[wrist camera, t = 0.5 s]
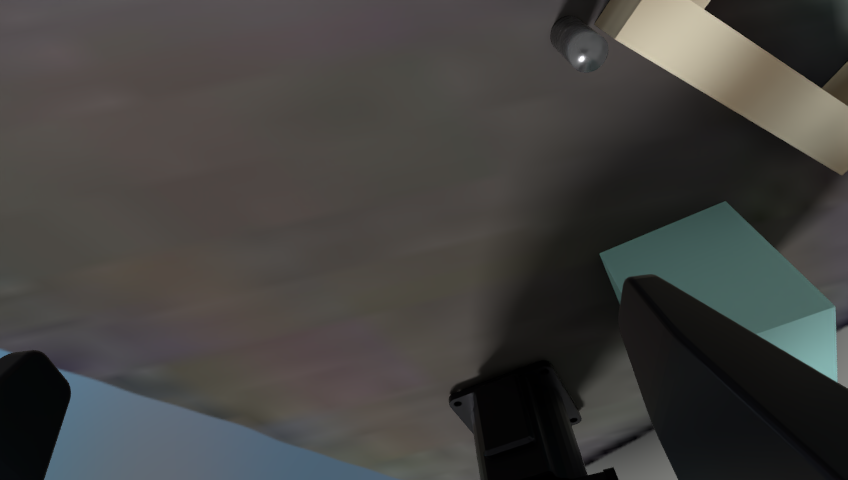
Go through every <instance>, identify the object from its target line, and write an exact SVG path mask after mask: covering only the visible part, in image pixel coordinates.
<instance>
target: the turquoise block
mask: <svg viewBox="0 0 848 480" xmlns="http://www.w3.org/2000/svg"><path fill="white" fill-rule="evenodd" d="M599 254H600V257H601V259H602V262H603V264H604V267H605V269H606V272H607V274H608V277H609V279H610V281H611V284H612V286H613V289H614V291H615V294H616V296H617V299H618V301H619V304H620V301H621V295H622V288H623V283H624V281H625V279H626V278H628V277H630V276H638V275H646V274H654V275H657V276H659V277H660V278H662V279H664V280H666V281H667V282H669V283H671V284H672V285H674V286H676V287H677V288H679V289H681V290H682V291H684V292H686V293H687V294H689V295H691V296H692V297H694V298H696V299H698V300H699V301H701V302H703V303H704V304H706V305H708V306H709V307H711V308H713V309H714V310H716V311H718V312H719V313H721V314H723V315H725V316H726V317H728V318H730V319H731V320H733V321H735V322H736V323H738V324H740V325H741V326H743V327H745V328H746V329H748V330H750V331H751V332H753V333H755V334H757V335H758V336H760V337H762V338H763V339H765V340H767V341H768V342H770V343H772V344H773V345H775V346H777V347H778V348H780V349H782V350H784V351H785V352H787V353H789V354H790V355H792V356H794V357H795V358H797V359H799V360H800V361H802V362H804V363H805V364H807V365H809V366H810V367H812V368H814V369H816V370H817V371H819V372H821V373H822V374H824V375H826V376H827V377H829V378H831V379H832V380H834V381H836V382H837V351H836V350H837V349H836V312H835V306H834V305H833V304H832V303H831V302H830V301H829V300H828V299H827V298H826V297H825V296H824V295H823V294H822V293H821V292H820V291H819V290H818V289H817V288H816V287H815V286H813V285H812V284H811V283H810V282H809V281H808V280H807V279H806V278H805V277H804V276H803V275H802V274H801V273H800V272H799V271H798V270H797V269H796V268H795V267H794V266H793V265H792V264H791V263H790V262H788V261H787V260H786V259H785V258H784V257H783V256H782V255H781V254H780V253H779V252H778V251H777V250H776V249H775V248H774V247H773V246H772V245H771V244H770V243H769V242H768V241H767V240H766V239H765V238H764V237H762V236H761V235H760V234H759V233H758V232H757V231H756V230H755V229H754V228H753V227H752V226H751V225H750V224H749V223H748V222H747V221H746V220H745V219H744V218H743V217H742V216H741V215H740V214H739V213H738V212H736V211H735V210H734V209H733V208H732V207H731V206H730V205H729V204H728V203H727V202H726V201H724V202H722V203H719V204H717V205H714V206H712V207H710V208H707V209H705V210H702V211H700V212H698V213H695V214H693V215H690V216H688V217H686V218H683V219H681V220H678V221H676V222H674V223H671V224H669V225H666V226H664V227H662V228H659V229H657V230H654V231H652V232H649V233H647V234H645V235H642V236H640V237H637V238H635V239H633V240H630V241H628V242H625V243H623V244H621V245H618V246H616V247H613V248H611V249H609V250H606V251H604V252H601V253H599Z"/></svg>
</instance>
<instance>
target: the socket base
mask: <svg viewBox="0 0 848 480" xmlns="http://www.w3.org/2000/svg"><path fill="white" fill-rule="evenodd" d="M710 1H711V0H610V1H609V3H608V4H607V6H606V7H605V9H604V10H603V12H602V13H601V15H600V16H599V18H598V20H597V21H596V23H595V24H594V25H596V26H597V27H598V28H600V29H601V30H603V31H604V32H605V33H607V34H608V35H610V36H611V37H612V38H614V39H615V40H617V41H619V42H620V43H622V44H624V45H625V46H627V47H629V48H630V49H632V50H634V51H635V52H637V53H639V54H640V55H642V56H644V57H645V58H647V59H649V60H650V61H652V62H654V63H655V64H657V65H659V66H660V67H662V68H664V69H665V70H667V71H669V72H670V73H672V74H674V75H675V76H677V77H678V78H680V79H682V80H683V81H685V82H687V83H688V84H690V85H692V86H693V87H695V88H697V89H698V90H700V91H702V92H703V93H705V94H707V95H708V96H710V97H712V98H713V99H715V100H717V101H718V102H720V103H722V104H723V105H725V106H727V107H728V108H730V109H732V110H733V111H735V112H737V113H738V114H740V115H742V116H743V117H745V118H747V119H748V120H750V121H752V122H753V123H755V124H757V125H758V126H760V127H762V128H763V129H765V130H767V131H768V132H770V133H772V134H773V135H775V136H777V137H778V138H780V139H782V140H783V141H785V142H787V143H788V144H790V145H792V146H793V147H795V148H797V149H798V150H800V151H802V152H803V153H805V154H807V155H808V156H810V157H812V158H813V159H815V160H817V161H818V162H820V163H822V164H823V165H825V166H827V167H828V168H830V169H832V170H833V171H835V172H837V173H838V174H840V175H843V174H844V173H845V172H846V171H847V170H848V62H847V63H846V64H845V65H844V66H843V67H842V68H841V69H840V70H839V71H838V72H837V73H836V74H835V75H834V76H833V77H832V78H831V79H830V80H829V81H828V82H827V83H826V84H825V85H824V86H823V87H822V88H820V87H818V86H817V85H816V84H814V83H813V82H811V81H810V80H808V79H807V78H805V77H804V76H802V75H801V74H799V73H798V72H796V71H795V70H793V69H792V68H790V67H789V66H787V65H786V64H784V63H783V62H781V61H780V60H778V59H777V58H775V57H774V56H772V55H771V54H770V53H768V52H767V51H765V50H764V49H762V48H761V47H759V46H758V45H756V44H755V43H753V42H752V41H750V40H749V39H747V38H746V37H744V36H743V35H741V34H740V33H738V32H737V31H735V30H734V29H732V28H731V27H729V26H728V25H726V24H725V23H723V22H722V21H721V20H719V19H718V18H716V17H715V16H713V15H712V14H710V13H709V12H707V11H706V10H704V8H705V7H706V6H707V5H708V3H709V2H710ZM550 39H551V43H552V45H553V46H554V47H555V48H556V49H557V50H558V51H559V52H560V53H561V54H562V55H563V56H564V58H565V59H566V60H567V61H568V62H569V63H570V64H571V65H572V66H573V67H574V68H575V69H576V70H578V71H580V72H584V73H587V72H592V71H594V70H596V69H598V68H599V67H600V66H601V65H602V64H603V63H604V61H605V60H606V58H607V55H608V44H607V42H606V40H605V39H604V38H603V37H602V36H601V35H599V34H598V33H597V32H595V31H594V30H593V29H591V28H590V27H589V26H587V25H586V24H585V23H583V22H582V21H581V20H579V19H578V18H576V17H574V16H566V17H563V18H561V19H560V20H558V21H557V22H556V23H555V25H554V26H553V28H552V30H551V35H550Z"/></svg>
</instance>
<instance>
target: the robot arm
mask: <svg viewBox="0 0 848 480" xmlns="http://www.w3.org/2000/svg"><path fill="white" fill-rule="evenodd" d="M618 323H619V329H620V332H621V336H622V338H623V341H624V344H625V347H626V350H627V353H628V356H629V359H630V362H631V365H632V368H633V371H634V373H635V376H636V379H637V382H638V385H639V388H640V391H641V394H642V397H643V400H644V403H645V406H646V408H647V411H648V414H649V417H650V419H651V422H652V424H653V427H654V429H655V431H656V433H657V436H658V438H659V440H660V442H661V444H662V447H663V448H664V451H665V453H666V455H667V457H668V459H669V461H670V463H671V465H672V468H673V470H674V472H675V474H676V476H677V478H678V480H848V388H846V387H844V386H842V385H841V384H839V383H837V382H836V381H834V380H832V379H831V378H829V377H827V376H826V375H824V374H822V373H821V372H819V371H817V370H816V369H814V368H812V367H810V366H809V365H807V364H805V363H804V362H802V361H800V360H799V359H797V358H795V357H794V356H792V355H790V354H789V353H787V352H785V351H784V350H782V349H780V348H778V347H777V346H775V345H773V344H772V343H770V342H768V341H767V340H765V339H763V338H762V337H760V336H758V335H757V334H755V333H753V332H751V331H750V330H748V329H746V328H745V327H743V326H741V325H740V324H738V323H736V322H735V321H733V320H731V319H730V318H728V317H726V316H725V315H723V314H721V313H719V312H718V311H716V310H714V309H713V308H711V307H709V306H708V305H706V304H704V303H703V302H701V301H699V300H698V299H696V298H694V297H692V296H691V295H689V294H687V293H686V292H684V291H682V290H681V289H679V288H677V287H676V286H674V285H672V284H671V283H669V282H667V281H666V280H664V279H662V278H660V277H659V276H657V275H654V274H646V275H638V276H630V277H628V278H626V279H625V281H624V283H623V288H622V295H621V301H620V308H619V315H618ZM70 397H71V390H70V386H69V383H68V382H67V380H66V379H65V378H64V376H63V375H62V374H61V373H60V372H59V370H58V369H57V368H56V367H55V366H54V364H53V363H52V362H51V361H50V359H49V358H48V357H47V356H46V355H45V354H44V353H42V352H40V351H36V350H31V351H23V352H15V353H11V354H8V355H6V356H4V357H2V358H0V480H44V478H45V475H46V472H47V468H48V466H49V463H50V460H51V456H52V453H53V450H54V447H55V444H56V441H57V438H58V435H59V432H60V429H61V426H62V423H63V420H64V416H65V413H66V410H67V407H68V404H69V401H70ZM449 405H450V407H451V408H452V409H453V410H454V412H455V413H456V414H457V415H458V416H459V417H460V419H461V420H462V421H463V422H464V423H465V425H466V426H467V427H468V428H469V429H470V430H471V432H472V433H473V434H474V440H475V446H476V453H477V460H478V466H479V473H480V479H481V480H618V477H617V475H616V472H615V470H614V468H608V469H604V470H603V471H604V472H600V473H596V474H592V475H588V474H587V472H586V468H585V465H584V462H583V459H582V456H581V453H580V450H579V447H578V444H577V441H576V438H575V435H574V432H573V429H572V425H575V424H577V423H579V422H580V421H581V416H580V413H579V411H578V409H577V407H576V406H575V404H574V402H573V401H572V399H571V397H570V395H569V394H568V392H567V390H566V389H565V387H564V385H563V383H562V382H561V380H560V378H559V377H558V375H557V373H556V372H555V370H554V368H553V366H552V365H551V363H550V362H548V361H540V362H537V363H535V364H532V365H529V366H527V367H524V368H521V369H519V370H516V371H513V372H511V373H508V374H505V375H503V376H500V377H497V378H495V379H492V380H489V381H486V382H484V383H481V384H478V385H476V386H473V387H470V388H468V389H465V390H462V391H460V392H457V393H454V394H452V395H451V396H450V397H449Z"/></svg>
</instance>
